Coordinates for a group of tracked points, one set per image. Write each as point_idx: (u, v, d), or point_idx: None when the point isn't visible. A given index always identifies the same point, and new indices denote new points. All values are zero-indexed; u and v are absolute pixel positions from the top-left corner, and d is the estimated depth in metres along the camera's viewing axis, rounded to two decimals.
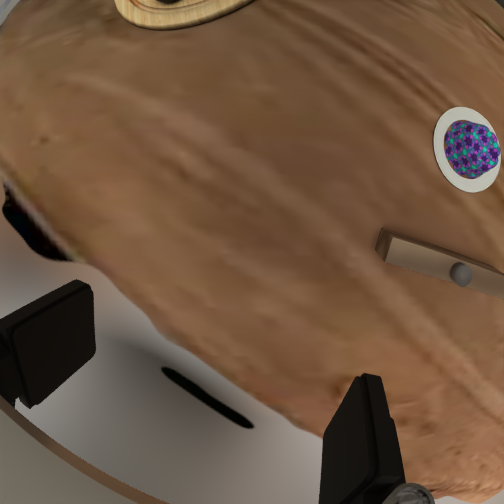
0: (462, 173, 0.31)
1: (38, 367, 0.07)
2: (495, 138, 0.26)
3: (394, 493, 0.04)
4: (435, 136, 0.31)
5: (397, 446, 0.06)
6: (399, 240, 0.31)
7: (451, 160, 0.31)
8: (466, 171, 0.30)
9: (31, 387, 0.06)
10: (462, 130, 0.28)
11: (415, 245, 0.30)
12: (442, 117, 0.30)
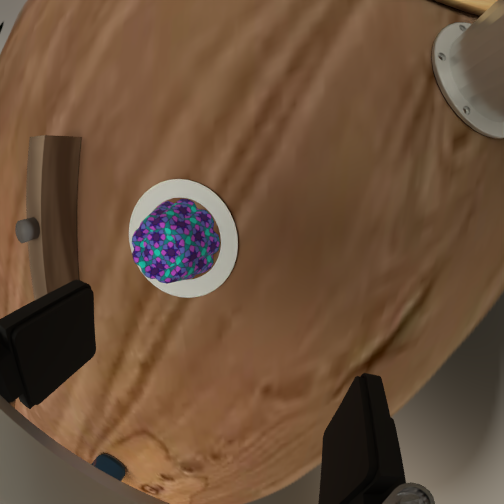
0: None
1: (38, 367, 0.07)
2: (175, 272, 0.25)
3: (394, 493, 0.04)
4: (179, 181, 0.27)
5: (397, 446, 0.06)
6: (43, 143, 0.23)
7: None
8: None
9: (31, 387, 0.06)
10: (183, 217, 0.26)
11: (41, 164, 0.24)
12: (209, 191, 0.27)
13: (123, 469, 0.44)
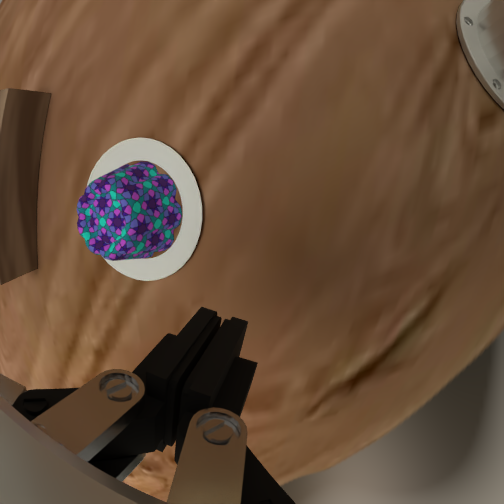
0: None
1: None
2: (120, 247, 0.19)
3: (201, 411, 0.06)
4: (140, 141, 0.21)
5: (247, 385, 0.08)
6: (5, 97, 0.17)
7: None
8: None
9: None
10: (136, 181, 0.20)
11: (1, 119, 0.18)
12: (171, 152, 0.21)
13: None
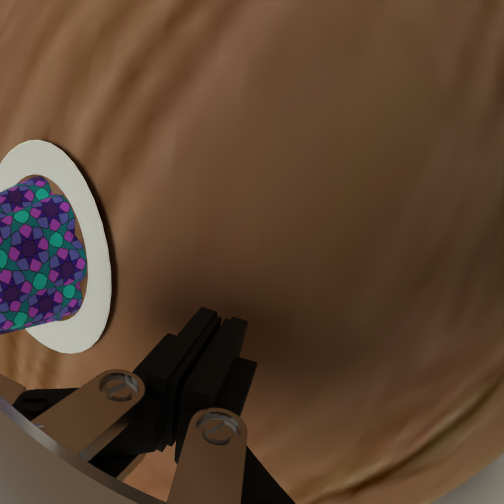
0: None
1: None
2: None
3: (201, 411, 0.06)
4: (29, 145, 0.11)
5: (247, 385, 0.08)
6: None
7: None
8: None
9: None
10: (9, 211, 0.10)
11: None
12: (63, 157, 0.11)
13: None
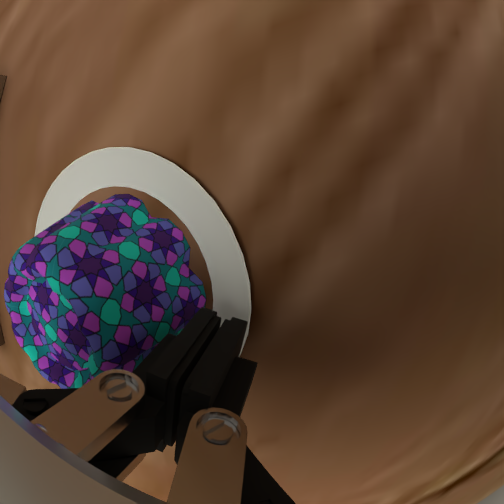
0: None
1: None
2: None
3: (201, 411, 0.06)
4: (111, 153, 0.11)
5: (247, 385, 0.08)
6: None
7: None
8: None
9: None
10: (105, 243, 0.09)
11: None
12: (175, 171, 0.10)
13: None
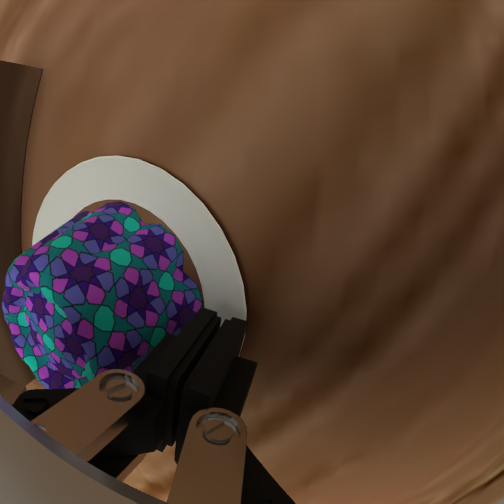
0: None
1: None
2: None
3: (201, 411, 0.06)
4: (100, 163, 0.11)
5: (247, 385, 0.08)
6: None
7: None
8: None
9: None
10: (97, 251, 0.09)
11: None
12: (163, 177, 0.10)
13: None
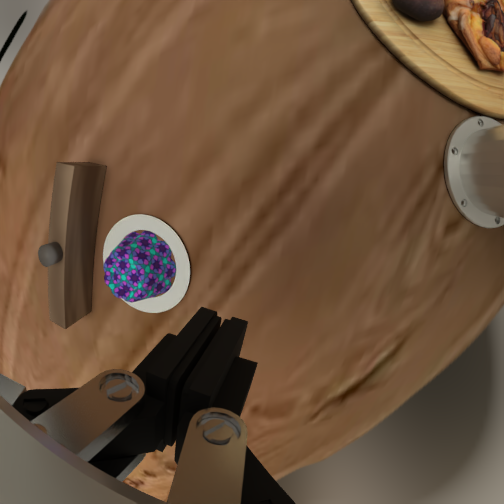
0: None
1: None
2: (137, 294, 0.29)
3: (201, 411, 0.06)
4: (143, 216, 0.32)
5: (247, 385, 0.08)
6: (72, 174, 0.26)
7: None
8: None
9: None
10: (145, 249, 0.30)
11: (69, 194, 0.27)
12: (166, 226, 0.32)
13: None
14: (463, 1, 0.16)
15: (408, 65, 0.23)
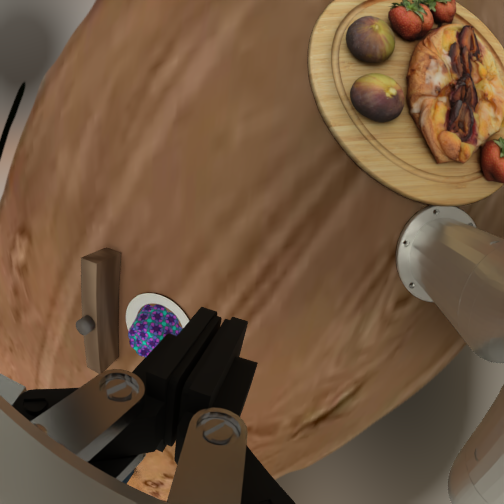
0: None
1: None
2: None
3: (201, 411, 0.06)
4: (154, 295, 0.42)
5: (247, 385, 0.08)
6: (95, 269, 0.36)
7: (141, 310, 0.43)
8: None
9: None
10: (158, 322, 0.40)
11: (95, 283, 0.37)
12: (173, 303, 0.42)
13: None
14: (427, 91, 0.24)
15: (363, 170, 0.31)
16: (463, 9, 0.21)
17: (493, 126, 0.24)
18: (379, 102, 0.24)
